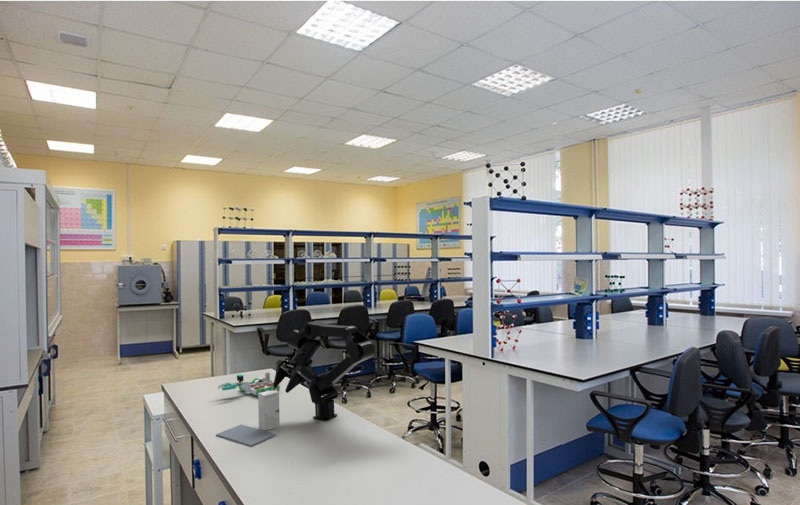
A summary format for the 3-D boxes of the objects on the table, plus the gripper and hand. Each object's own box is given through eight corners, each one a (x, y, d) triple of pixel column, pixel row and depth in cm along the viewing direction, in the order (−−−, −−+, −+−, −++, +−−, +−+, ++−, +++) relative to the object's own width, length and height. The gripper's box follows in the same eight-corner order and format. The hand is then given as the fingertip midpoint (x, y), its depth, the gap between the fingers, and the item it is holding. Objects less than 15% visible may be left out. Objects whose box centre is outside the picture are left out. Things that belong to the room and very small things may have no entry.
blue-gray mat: (276, 435, 147) (276, 433, 147) (251, 446, 139) (251, 445, 139) (241, 425, 157) (241, 424, 157) (216, 435, 149) (216, 434, 149)
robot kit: (212, 397, 192) (211, 376, 192) (264, 384, 210) (264, 364, 210) (232, 406, 179) (231, 383, 179) (286, 392, 197) (285, 370, 197)
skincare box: (264, 431, 151) (263, 395, 151) (258, 428, 154) (257, 393, 155) (280, 426, 155) (279, 391, 156) (274, 423, 159) (273, 389, 159)
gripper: (333, 369, 163) (308, 407, 155) (307, 361, 176) (282, 396, 169) (314, 351, 157) (286, 390, 150) (288, 345, 171) (262, 380, 164)
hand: (280, 389), depth 158 cm, fingers open, 9 cm apart
